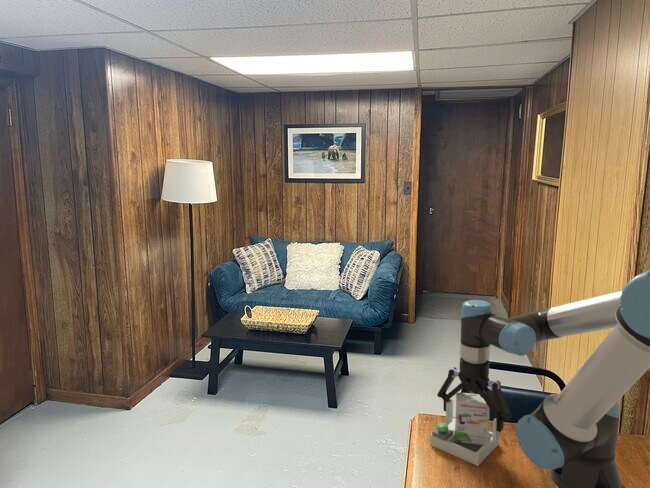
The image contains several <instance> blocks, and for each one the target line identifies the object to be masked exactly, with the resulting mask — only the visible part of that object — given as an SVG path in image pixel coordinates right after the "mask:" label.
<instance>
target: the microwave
mask: <svg viewBox="0 0 650 488" xmlns="http://www.w3.org/2000/svg"><path fill="white" fill-rule="evenodd" d="M455 422H456V417H453V421H452V422H451V423H450V424H449V425H448V431H447V432H444V433H441V432H440V431H438V430H437V427H436V428H435V429H434V430H432V432H431V434H430V442H429V443H430V446H432V447H435V448H437V449H439V450H441V451H443V452H445V453H448V454H450V455H452V456H455V457H457V458H459V459H462V460H463V461H465V462H468V463H471V464H473V465H475V466H477V467H478V466H479V465H480V464H482V462H483V461H484V460H486V458H487V457H488V456H489V455H490V454H491V453H492V452H493V451H494V450H495V449H496V448H497V447H498V446H499V441H500V439H499V440H498V441H497V442H496V443H495V444H494V443H492V437H493V431H490V430H489V438H488V444H485V443H476V442H467V441H458V440H456V435H455ZM445 424H446V422H445Z"/></svg>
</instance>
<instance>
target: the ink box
mask: <svg viewBox="0 0 650 488" xmlns="http://www.w3.org/2000/svg"><path fill="white" fill-rule="evenodd" d="M455 395H456V398H455V418H456V422H455V435H456V440H458V441H467V442H476V443H485V444H488V438H489V431H490V416H491V415H490V412H491V410H490V408H489V407H488V405H487V404H486V402H485V400H484V399H483V398H482V397H481V396H480V395H479V393H478V394H476V393H468V392H460V391H459V392H457V393H456V394H455Z"/></svg>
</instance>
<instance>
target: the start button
mask: <svg viewBox="0 0 650 488" xmlns="http://www.w3.org/2000/svg"><path fill="white" fill-rule="evenodd" d="M445 423H446V422H445ZM445 423H444V422H439V423H437V425H436V428H437V430H438V431H440V432H441V433H444V432H447V431H448V425H447V424H445Z"/></svg>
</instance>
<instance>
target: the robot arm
mask: <svg viewBox="0 0 650 488" xmlns="http://www.w3.org/2000/svg"><path fill="white" fill-rule="evenodd" d="M460 314H461V315H460V346H459V357H460V358H459V370H458V369H457V367H455V366H454V367H452V368H451V369H449V370H448V372H447V373H448V374H447V377H446V379H445V380H444V382H443V384H442V386H441V387H440V389H439V390H438V392H437V395H436V396H437V397H438V398H441V399H442V401H443V412H445V423H446V424H447V425H449V424H450V423H451V422H452V421H453V418H454V399H452V398H453V397H454V396H455V395H456V394H457V393H459V392H460V391H461V390H463V388H464V390H465V391H467V392H471V393H473V394H479V395H480V396H481V397H482V398H483V399H484V400H485V402H486V404H487V405H488V407H489V408H490V412H491V413H492V414H493V416H494V419H493V421H492V422H493V423H492V433H493V437H492V443H494V444H495V443H496V442H497V441H498V440H499V441H500V434H501V432H502V431H503V430H504V422H508V421H509V420H510V419H511V418H512V417H513V416H512V414H511V413H512V412H511V410H510V409H509V406H508V403H507V401H506V398H505V396H504V393H503V391H502V385H501V384H502V383H501V381H500V380H499V379H498V380H495V381H494V380H490V378H489V375H490V374H489V373H490V355H491V350H490V349H491V346H493V347H495V348H498V349H500V350H502V351H504V352H506V353H509V354H512V355H515V356H520V357H521V356H527V355H528V354H529V353H530V352H531V351H533V349H534V347H535V346H536V344H537V343H541V342H544V341H547V340H548V341H549V340H554V339H559V338H562V337H563V338H564V337H569V336H574V335H580V334H581V335H582V334H586V333H590V332H591V333H592V332H598V331H602V330H608V329H612V330H611V331H610V332H609V334H607V336H606V337H604V340H603V341H602V342H601V343H600V344H599V345H598V346H597V348H596V349H595V350H594V351H593V352H592V353H591V355H590V356H589V357H588V358H587V360H586V361H584V363H583V364H582V366H581V367H580V368H579V369H578V370H577V372H576V373H575V374H574V375H573V377H572V378H570V380H569V382H567V384H565V386H564V388H563V389H562V390H561V391H560V392H559V393H551V394H548V395H547V396H546V397H545V398H544V399H543V400H542V402H541V403H540V404H539V406H538V407H537V408H536V409H535V410H534V411H533V412H531V413H530V414H525V415H523V416H522V417H521V418H520V419H518V420H517V423H516V426H515V435H516V438H517V442H518V445H519V448H520V450H522V452H523V454H524V455H525V456H526V458H528V460H530V461H531V462H532V463H533V464H534V465H535V466H537V467H539V468H542V469H543V470H546V471H550V477H551V479H552V481H553V482H554V483H555V484H556V485H557V486H558V487H559V488H622V480H621V475H620V473H619V469H618V466H617V465H618V464H617V462H616V453H617V452H616V451H617V441H618V433H619V432H618V431H619V422H620V418H621V415H620V403H619V402H618V401H620V400H621V398H622V397H623V396H624V395H625V394H626V393H627V392H628V391H629V390H630V389H631V388H632V387H633V386H634V384H636V383H637V381H638V380H640V379H641V377H642V376H644V375H645V373H646V372H647V371H648V370H649V369H650V269H648V270H645V271H643V272H641V273H639V274H637V275H635V276H634V277H632V278H631V279H630V280H629V281H628V282H627V283H626V284H625V286H623V289H619V290H615V291H612V292H608V293H604V294H599V295H596V296H591V297H588V298H585V299H580V300H576V301H572V302H568V303H565V304H560V305H556V306H553V307H549V308H548V307H547V308H543V309H540V310H536V311H532V312H529V313H525V314H521V315H517V316H512V317H508V318H507V317H504V316H500V315H498V314H495V313H493V305H492V304H491V303H490V302H489V301H486V300H481V299H469V300H466V301H464V302H463V303H462V306H461V313H460ZM457 377H458V378H459V381H460V383H458V385H457V386H456V387H454V388H453V389H452V390H451V391H450V392H449V393H447V391H448V390H449V389H450V386H451V385H452V383H453V382H454V380H455V379H456V378H457ZM488 386H489V387H490V388H489V387H488ZM491 391H492V393H491Z"/></svg>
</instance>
